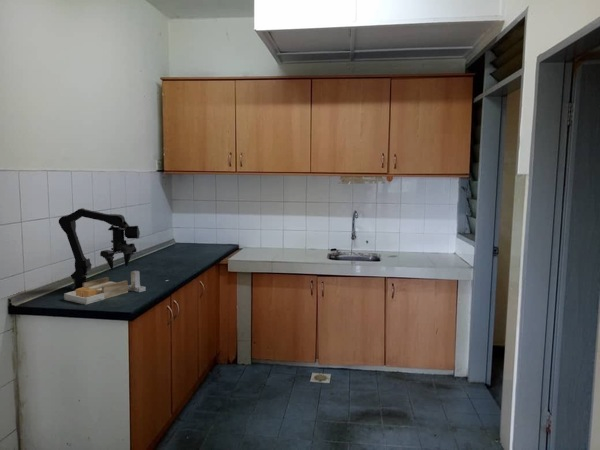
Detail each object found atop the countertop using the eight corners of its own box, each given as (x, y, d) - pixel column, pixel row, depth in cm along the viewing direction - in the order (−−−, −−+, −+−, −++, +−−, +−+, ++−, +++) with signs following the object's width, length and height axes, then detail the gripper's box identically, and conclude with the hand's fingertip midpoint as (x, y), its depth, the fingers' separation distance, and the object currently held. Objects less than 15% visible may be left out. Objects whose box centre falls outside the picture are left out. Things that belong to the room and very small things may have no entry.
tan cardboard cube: (90, 296, 210) (83, 298, 207) (90, 288, 210) (83, 290, 206) (96, 297, 209) (88, 299, 205) (95, 289, 208) (88, 291, 205)
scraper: (126, 289, 226) (125, 271, 225) (132, 287, 230) (131, 269, 228) (139, 292, 222) (138, 273, 220) (145, 290, 225) (144, 271, 224)
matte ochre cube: (83, 295, 213) (76, 297, 209) (82, 287, 212) (75, 289, 209) (88, 296, 211) (81, 298, 207) (88, 288, 211) (81, 290, 207)
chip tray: (64, 299, 208) (63, 293, 207) (83, 294, 216) (82, 288, 216) (85, 304, 200) (85, 298, 200) (104, 299, 209) (104, 293, 209)
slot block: (83, 294, 216) (82, 282, 216) (107, 288, 229) (106, 277, 228) (104, 299, 209) (103, 287, 208) (128, 292, 221) (127, 280, 220)
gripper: (113, 242, 216) (114, 272, 218) (143, 237, 232) (143, 266, 234) (99, 240, 221) (100, 269, 223) (129, 235, 237) (129, 263, 239)
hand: (119, 267), depth 230 cm, fingers open, 9 cm apart
